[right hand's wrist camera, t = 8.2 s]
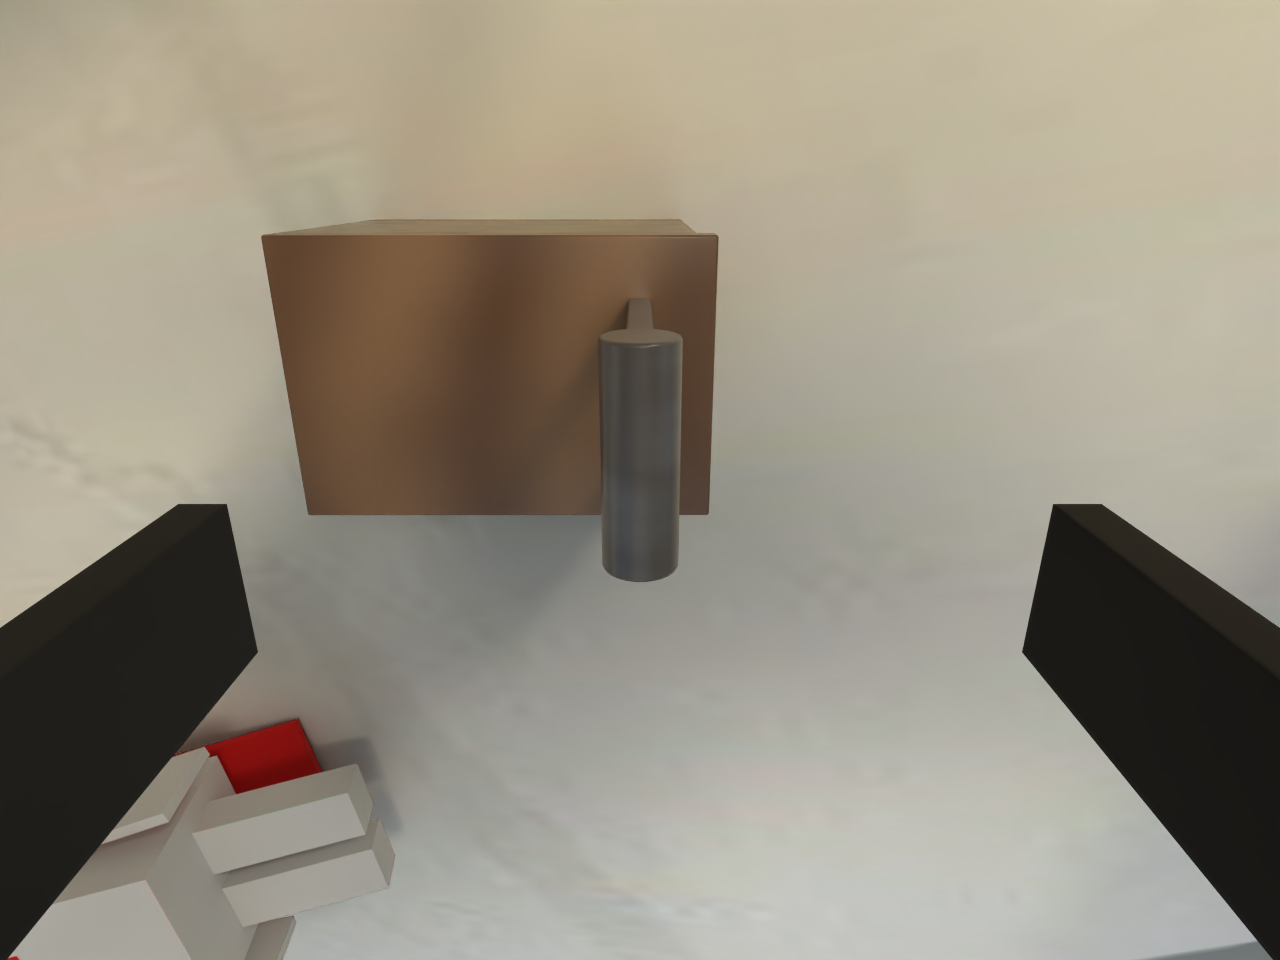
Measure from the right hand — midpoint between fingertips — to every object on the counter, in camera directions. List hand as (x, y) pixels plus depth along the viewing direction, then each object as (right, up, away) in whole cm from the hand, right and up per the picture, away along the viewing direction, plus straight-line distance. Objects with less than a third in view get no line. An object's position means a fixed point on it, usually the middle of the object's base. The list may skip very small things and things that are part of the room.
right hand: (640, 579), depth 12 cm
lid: (-5, +5, +13) cm, 15 cm away
